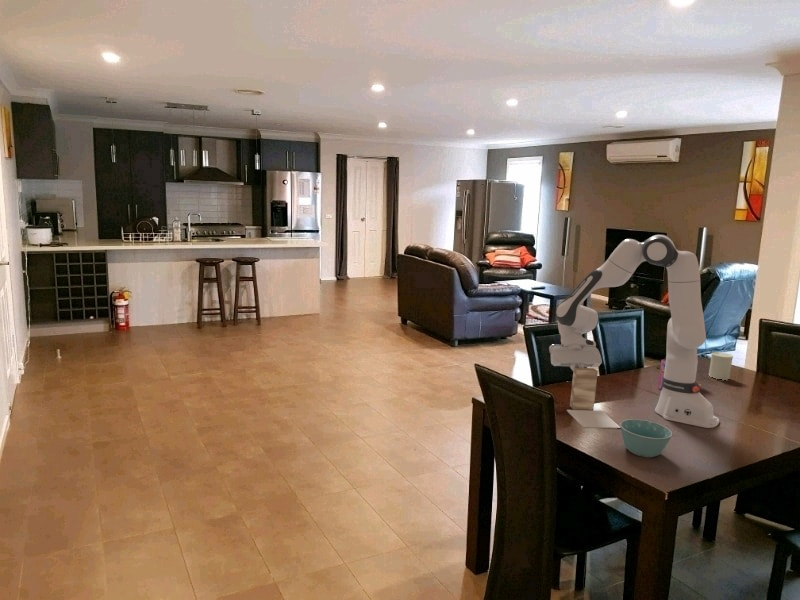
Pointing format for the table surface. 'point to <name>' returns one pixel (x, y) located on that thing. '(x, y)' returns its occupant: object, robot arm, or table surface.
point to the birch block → (583, 388)
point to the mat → (592, 419)
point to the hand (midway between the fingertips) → (579, 375)
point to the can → (720, 365)
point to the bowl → (644, 437)
